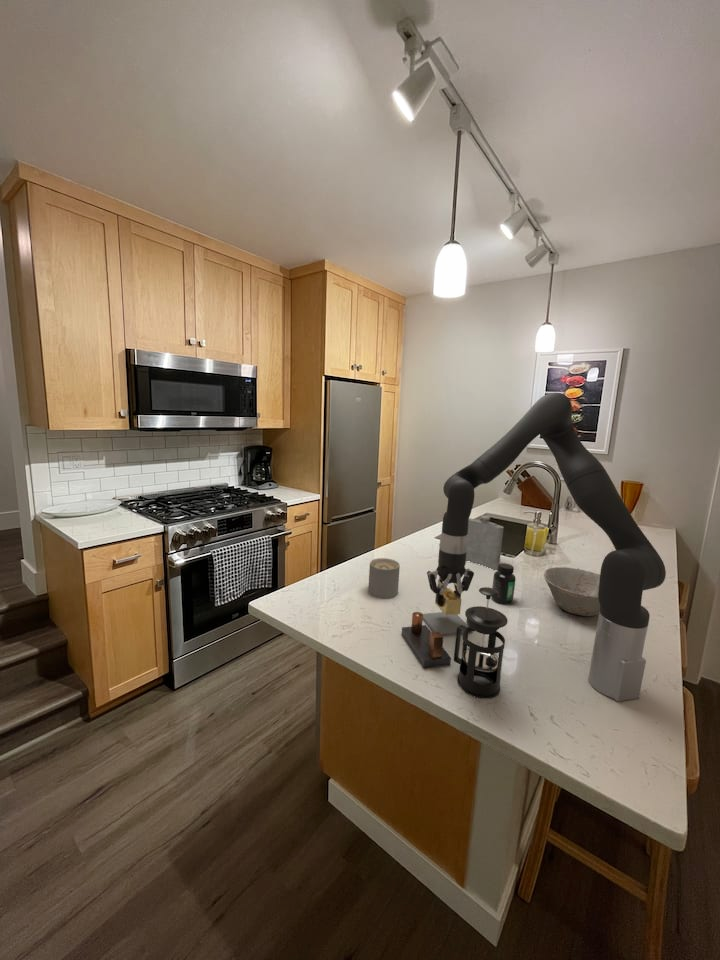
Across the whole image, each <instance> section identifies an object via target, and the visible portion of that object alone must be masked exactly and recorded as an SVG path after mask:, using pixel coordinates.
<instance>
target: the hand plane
mask: <svg viewBox="0 0 720 960" xmlns="http://www.w3.org/2000/svg"><path fill="white" fill-rule="evenodd" d="M423 614H424V613H422V612H419V611H414V612H413V613H412V615H411V616H412V617H411V626H403V627H401V636H402V637H403V639H404V640H405V642H406V643H407V645H408V646H409V648H410V649H411V651H412V653H413V655H415V657H416V659H417V660H418V663H420V665H421V666H422V668H423V669H427V668H428V669H431V668H435V667H444V666H445V667H446V666H451V659H452V657H451V656H450V654H449V653H448V652H447V651H446V649H445V648H444V646H443V645H444V636H442V634H441V633H440V632H432V631H431V629H430V628H429V627H428V626H427V624H424V625H423V622H424V620H423Z"/></svg>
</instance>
